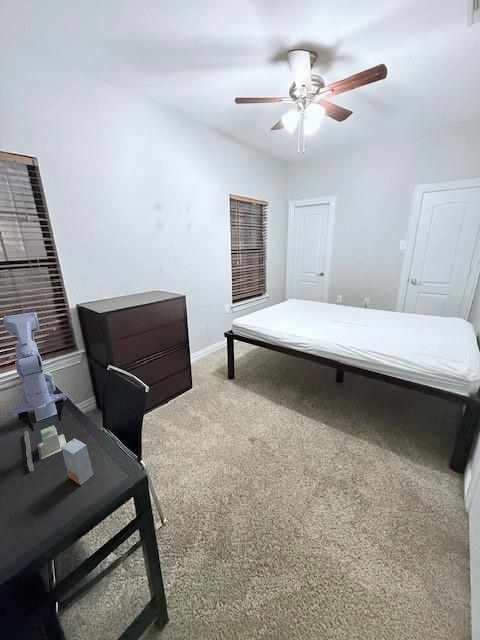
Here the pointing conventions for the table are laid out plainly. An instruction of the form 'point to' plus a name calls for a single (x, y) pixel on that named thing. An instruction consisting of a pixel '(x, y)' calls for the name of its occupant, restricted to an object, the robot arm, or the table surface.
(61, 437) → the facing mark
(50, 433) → the sage carton
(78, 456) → the skincare box
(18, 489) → the table surface
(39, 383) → the robot arm
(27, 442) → the rail
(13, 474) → the table surface
